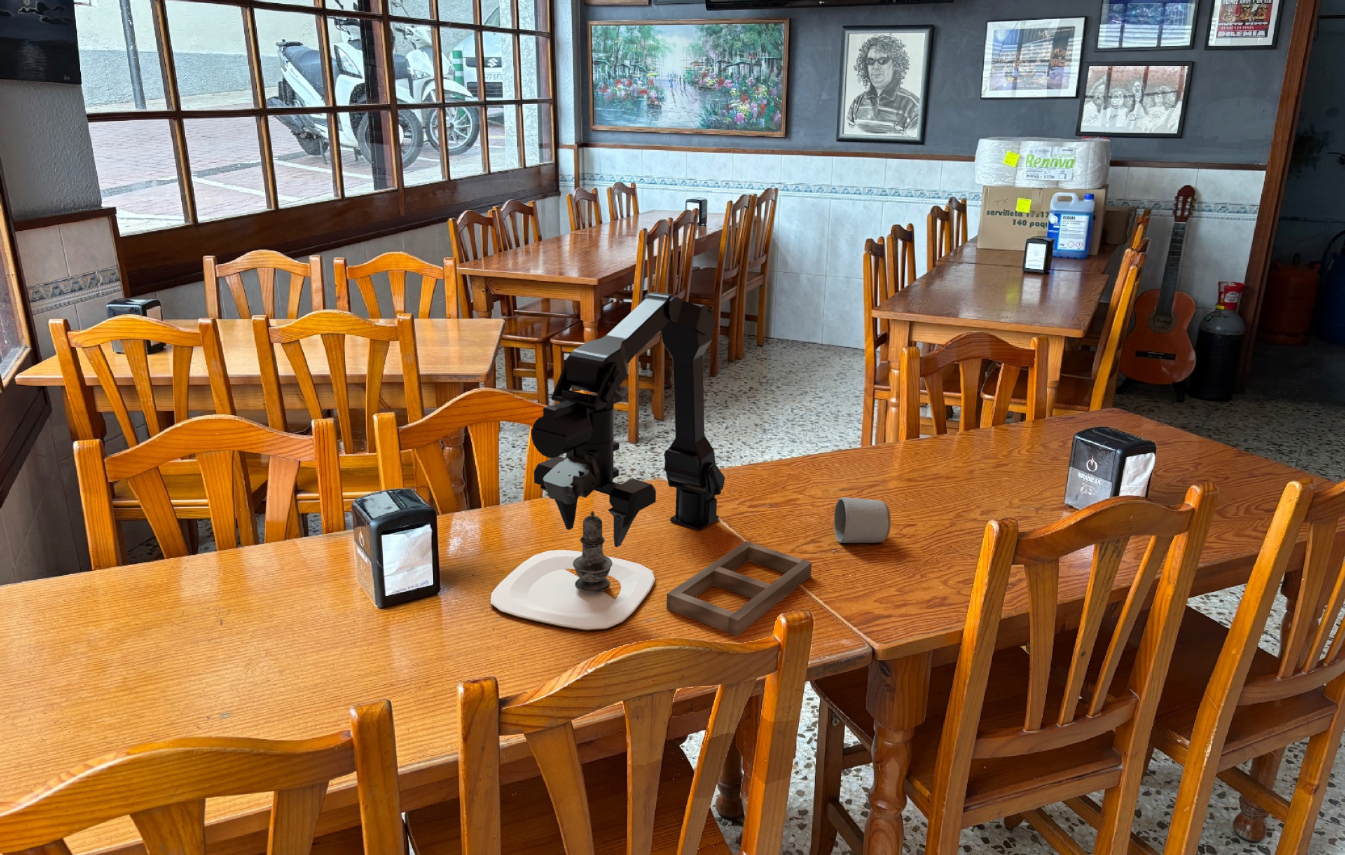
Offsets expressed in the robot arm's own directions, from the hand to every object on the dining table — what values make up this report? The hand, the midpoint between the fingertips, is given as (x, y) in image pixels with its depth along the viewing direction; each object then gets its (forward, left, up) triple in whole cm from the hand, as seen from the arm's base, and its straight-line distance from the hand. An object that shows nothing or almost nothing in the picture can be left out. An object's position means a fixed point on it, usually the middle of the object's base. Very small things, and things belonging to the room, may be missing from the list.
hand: (593, 537), depth 135 cm
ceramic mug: (+23, +42, -9) cm, 49 cm away
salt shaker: (0, 0, -8) cm, 8 cm away
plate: (-2, -2, -10) cm, 10 cm away
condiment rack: (+18, +13, -9) cm, 24 cm away
